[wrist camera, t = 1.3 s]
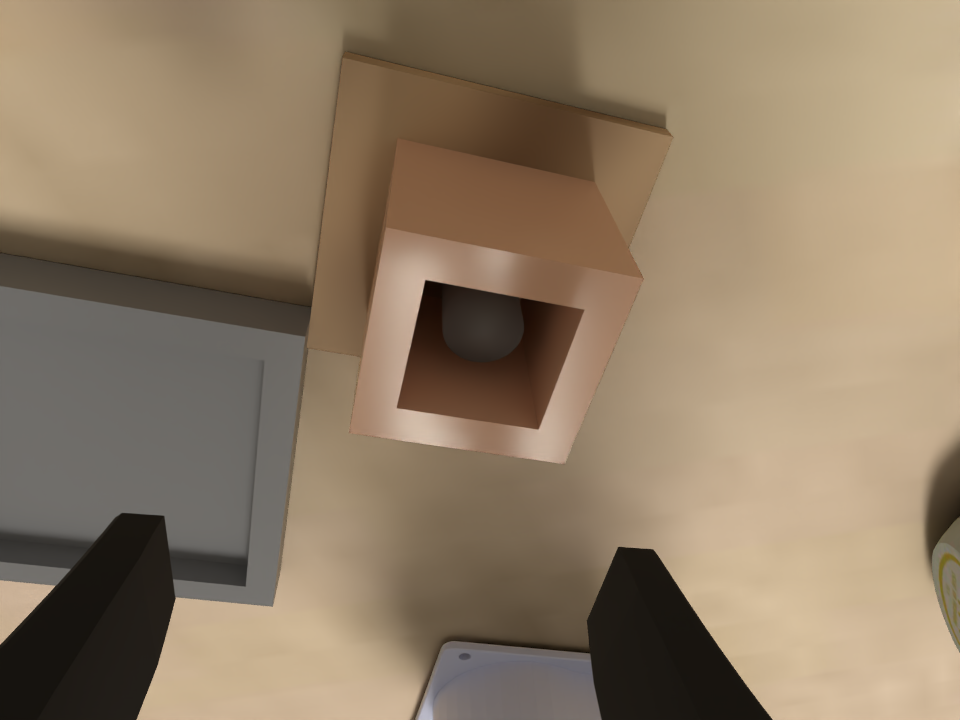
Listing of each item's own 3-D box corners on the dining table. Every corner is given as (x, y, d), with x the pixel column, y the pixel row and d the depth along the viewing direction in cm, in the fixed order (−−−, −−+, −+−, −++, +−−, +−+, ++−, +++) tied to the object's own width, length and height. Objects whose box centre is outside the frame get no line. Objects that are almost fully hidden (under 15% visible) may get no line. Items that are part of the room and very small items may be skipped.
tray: (313, 307, 20) (305, 336, 19) (280, 572, 27) (272, 606, 25) (-166, 224, 18) (-210, 250, 16) (-71, 535, 24) (-98, 570, 23)
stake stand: (666, 129, 17) (726, 198, 14) (568, 379, 22) (594, 480, 18) (345, 51, 16) (319, 106, 12) (309, 336, 20) (283, 436, 17)
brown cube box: (595, 182, 18) (643, 279, 13) (530, 365, 21) (554, 488, 17) (397, 137, 17) (386, 227, 13) (362, 336, 20) (344, 459, 16)
